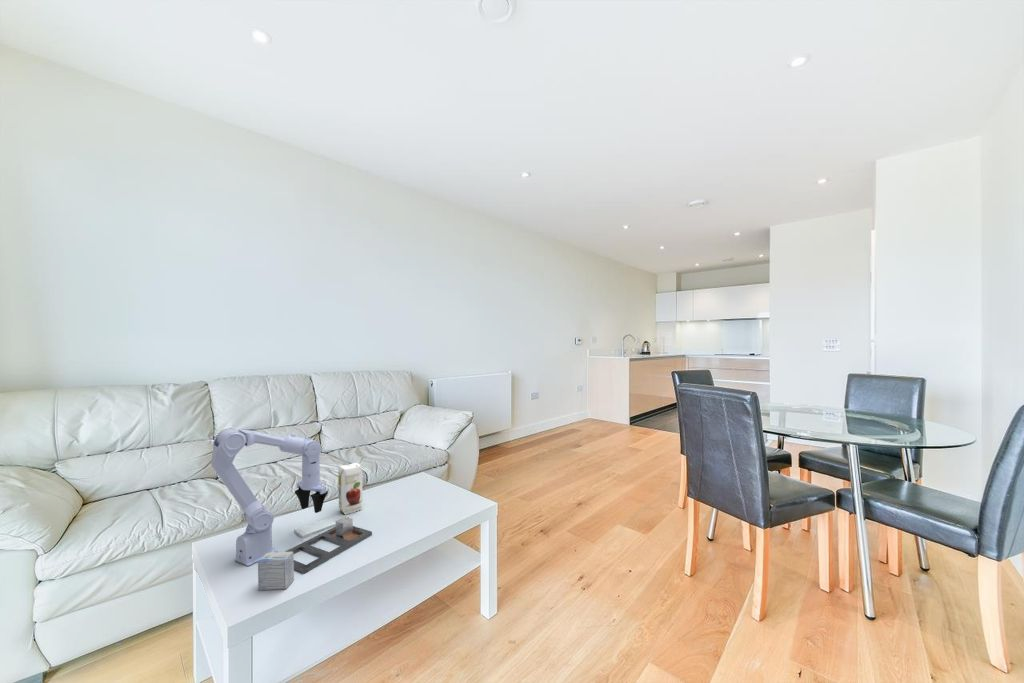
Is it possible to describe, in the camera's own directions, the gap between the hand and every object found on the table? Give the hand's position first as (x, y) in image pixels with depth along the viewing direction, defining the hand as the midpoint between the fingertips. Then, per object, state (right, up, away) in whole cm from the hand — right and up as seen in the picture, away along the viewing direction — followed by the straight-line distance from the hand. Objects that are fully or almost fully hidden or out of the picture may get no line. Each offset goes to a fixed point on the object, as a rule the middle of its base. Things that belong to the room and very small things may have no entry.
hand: (311, 510), depth 137 cm
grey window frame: (+9, -9, -8) cm, 16 cm away
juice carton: (+5, -10, +21) cm, 24 cm away
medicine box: (+5, -9, -29) cm, 31 cm away
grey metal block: (+13, -9, -2) cm, 16 cm away
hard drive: (-1, -10, +5) cm, 12 cm away
